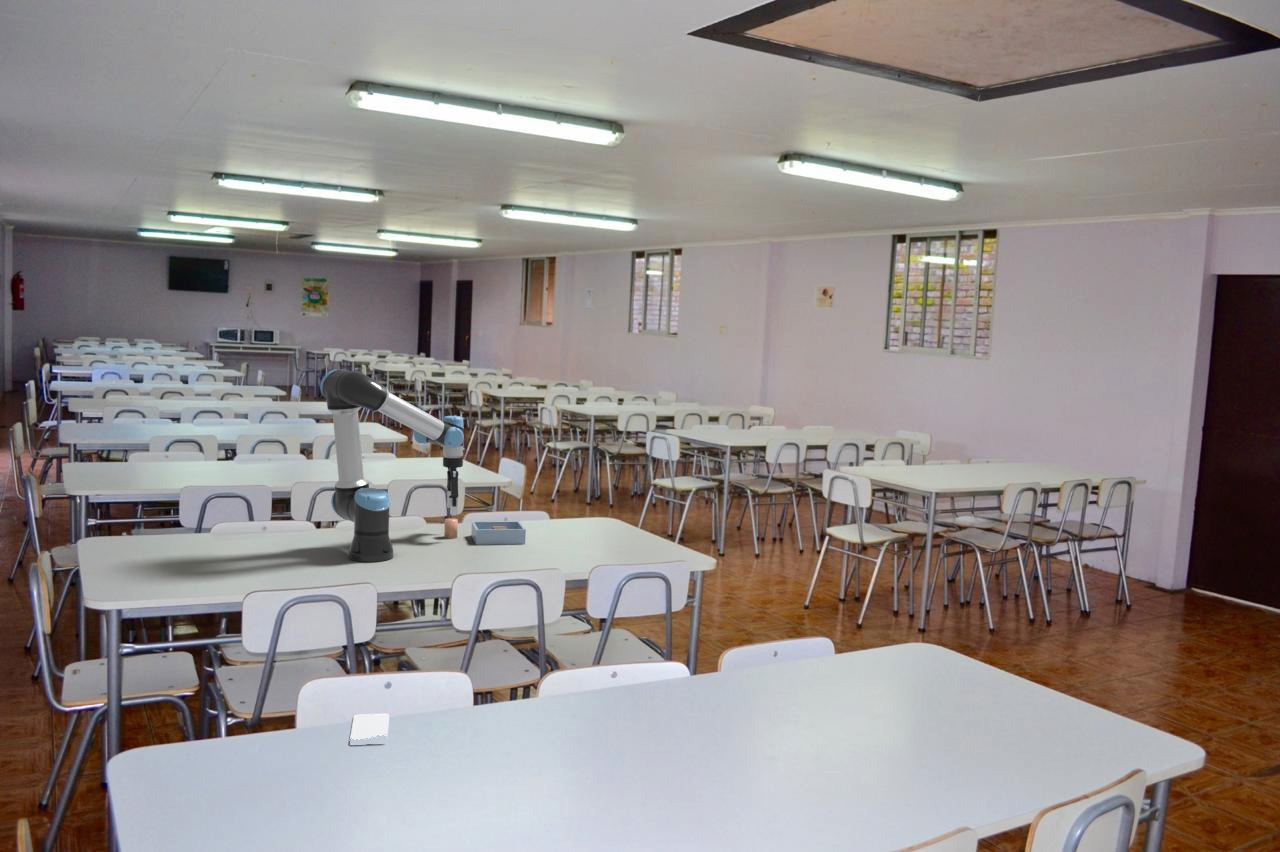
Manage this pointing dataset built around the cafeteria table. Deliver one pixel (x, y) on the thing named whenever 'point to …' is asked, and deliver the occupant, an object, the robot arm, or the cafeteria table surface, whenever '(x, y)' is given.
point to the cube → (499, 527)
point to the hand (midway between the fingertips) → (452, 511)
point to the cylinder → (450, 528)
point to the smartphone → (369, 726)
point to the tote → (498, 533)
